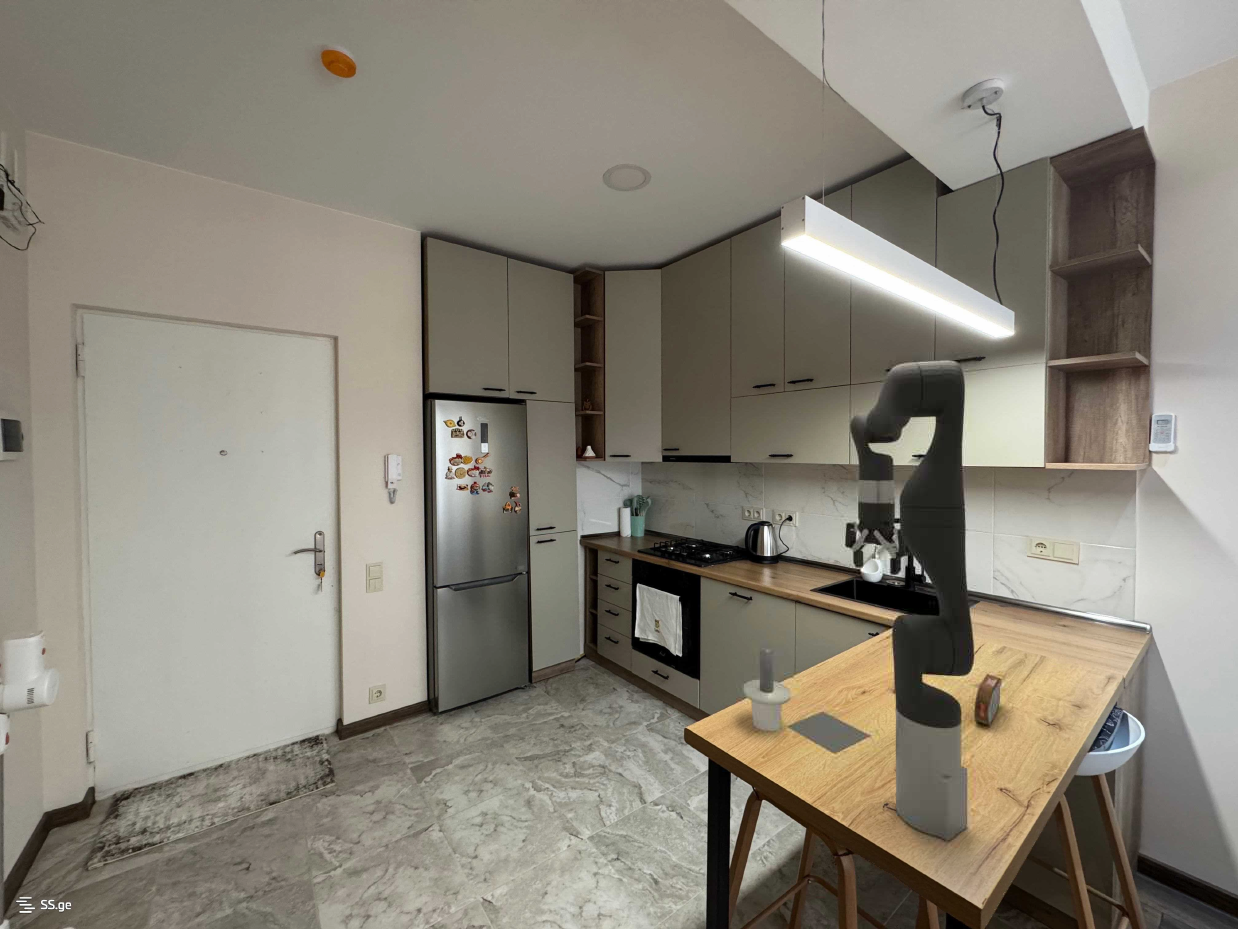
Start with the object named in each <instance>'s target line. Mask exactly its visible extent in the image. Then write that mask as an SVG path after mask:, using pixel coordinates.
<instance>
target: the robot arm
mask: <svg viewBox="0 0 1238 929" xmlns="http://www.w3.org/2000/svg"><path fill="white" fill-rule="evenodd" d="M965 398H966V384H965V376H964V371H963V369H962V367H961V364H960V363H958V362H957V361H954V360H935V361H934V360H933V361H932V360H931V361H917V362H915V361H914V362H906V363H900V364H898V365H897V364H896V365H895V366H893V367H892V368H891V369H890V370H889V371H888V373H887V375H886V376H885V379H884V382H883V385H882V388H881V390H880V393H879V396H878V399H877V402H876V404H875V405H874V406H873V407H872V408H871V409H870V410H869V412H859V413H857V414H855V415H854V416H853V417H852V419H851V420H850V423H849V429H850V434H851V438H852V440H853V443H854V446H855V449H856V454H857V458H858V480H859V481H858V487H857V518H858V523H857V522H855V521H852V522H847V523H846V524H845V543H844V546H845V547H846V548H848V549H851V550H852V555H853V556H852V558H853V565H854V567H855V568H859V569H860V568H863V567H864V551H863V549H864V548H865V547H866V546H867V545H873V544H874V545H875V546H882V547H883V549H884V550H886V552H888V554H889V555H890V558H889V560H890V561H889V574H890V575H891V576H892V575H893V576H897V575H899V573H901V570H902V558H904V557H907V556H910V555H912V556H913V557H914V558H915V560H916V562H918V564H919V566H920V567H921V568H922V569H923V571H924V572H925V574H926V575H927V576H928V577H927V578H928V579H929V580H930V582H931V584H932V585H933V589H935V593H936V597H937V600H938V601H937V602H938V607H939V615H928V614H927V615H924V614H900V615H898V616H896V618H895V619H894V621H893V624H892V630H891V633H892V634H891V641H892V642H891V643H892V644H891V646H892V656H893V677H894V678H893V680H894V696H895V807H896V808H895V809H896V812H897V814H898V815H899V817H900V818H901V819H902V821H904V822H905V823H907V825H909V826H910V827H912V828H914V829H916V830H917V831H920V832H922V833H925V834H926V835H927V834H928V835H931V836H934V837H935V836H936V837H939V838H941V839H943V840H945V841H947V842H948V841H950V840H952V839H953V838H954V837H956V836H957V835H958V834H959V833H961V832H962V831H963V830H965V829H967V827H968V769H967V767H966V766H963V765H962V706H961V704H960V702H959V701H958V700H957V698H956V697H955V696H953V695H951V694H950V693H948V692H947V691H944V690H943V689H941V688H938V687H935V686H933V685H930V684H928V683H926V682H924V681H923V675H926V676H928V675H929V676H930V675H931V676H948V677H964V676H967V675H969V674H970V673H971V671H972V670H973V665H974V664H975V663H974V662H975V642H974V634H973V633H974V632H973V625H972V617H971V610H970V602H969V592H968V583H967V582H968V581H967V560H966V534H967V532H966V530H967V529H966V508H965V507H966V505H965V504H966V502H965V501H966V500H965V491H964V490H965V489H964V474H963V473H964V472H963V470H964V469H963V441H964V439H963V436H964V435H963V434H964V423H965V422H964V421H965V419H964V418H965V417H964V416H965V405H966V404H965V402H966V401H965V400H966V399H965ZM911 418H935V426H934V432H933V436H932V439H931V442H930V445H929V447H928V449H927V451H926V452H925V455H924V456H923V458H922V460H921V461H920V462H919V464H918V465H917V466H916V468H915V469H914V471H912V473H911V475H910V476H909V478H908V480H907V481H906V483H905V484H904V486H903V487H902V490H901V492H900V495H899V503H898V504H899V528H896V526H895V519H896V490H895V485H894V484H895V482H894V458H893V457H892V455H890V454H886V453H881V452H876V451H874V450H872V449H871V447H870V445H869V444H891V443H896V442H898V441H899V440H900V439H901V437H902V432H903V428H905V427H906V426H907V425H908V424H909V422H910V421H911ZM857 532H859V534H860V535H859V536H858V538H857ZM894 536H895V537H896V539H897V541H896V540H895V538H894Z"/></svg>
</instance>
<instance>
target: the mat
mask: <svg viewBox="0 0 1238 929" xmlns="http://www.w3.org/2000/svg"><path fill="white" fill-rule="evenodd" d="M786 727H787V728H788V729H790V730H792V731H794V732H795V733H797V734H799V735H801V736H802V737H804V738H806V739H808V740H810V741H812V742H813V743H815V744H817V745H818V746H820V747H821V748H824V749H825V750H827V751H829V752H830V753H833V754H838V753H839V752H842V751H844V750H845V749H848V748H850V747H852V746H854V745H856V744H858V743H861V741H863V740H866V739H868V738H870V737H871V736H872V735H870V734H869V733H866V732H864V731H862V730H860V729H859V728H857V727H854V726H852V725H850V724H848V723H846V722H845V721H842V720H841V719H838V718H837V717H834V715H833V716H832V715H831V714H828V713H826V712H824V711H823V710H821V711H820V712H818V713H815V714H813V715H810V716H808V717H806V718H803V719H801V720H799V721H797V722H796V721H795V722H794V723H791V724H789V725H787V726H786Z"/></svg>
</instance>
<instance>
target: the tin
mask: <svg viewBox="0 0 1238 929" xmlns="http://www.w3.org/2000/svg"><path fill="white" fill-rule="evenodd" d="M1001 686H1002V678H1001V677H998V676H996V675H995V676H994V675H992V674H989V673H986V675H985V676H984V677H983V679H982V680H981V682H980V683H979V685H978V688H977V692H976V696H975V702H974V709H973V710H974V711H973V712H974V713H973V714H974V715H973V716H974V721H975V722H978V723H982V724H985V725H989V726H990V725H991V723H992V722H993V720H994V718H995V717H996V715H997V713H998V710H999V707H1000V706H999V705H1000V702H1001V701H1000V700H1001V696H1000V695H1001Z"/></svg>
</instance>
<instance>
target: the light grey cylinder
mask: <svg viewBox="0 0 1238 929" xmlns="http://www.w3.org/2000/svg"><path fill="white" fill-rule="evenodd" d="M750 702H751V712H752V713H751V714H752V721H753V722H752V723H753V725H754V726H755V728H758V730H761V731H763V732H765V731H766V732H775V731H779V729H780V727H781V719H782V718H781V717H782V707H783V704H781V705H764V704H759V703H756V702H753V701H751V700H750Z"/></svg>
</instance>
